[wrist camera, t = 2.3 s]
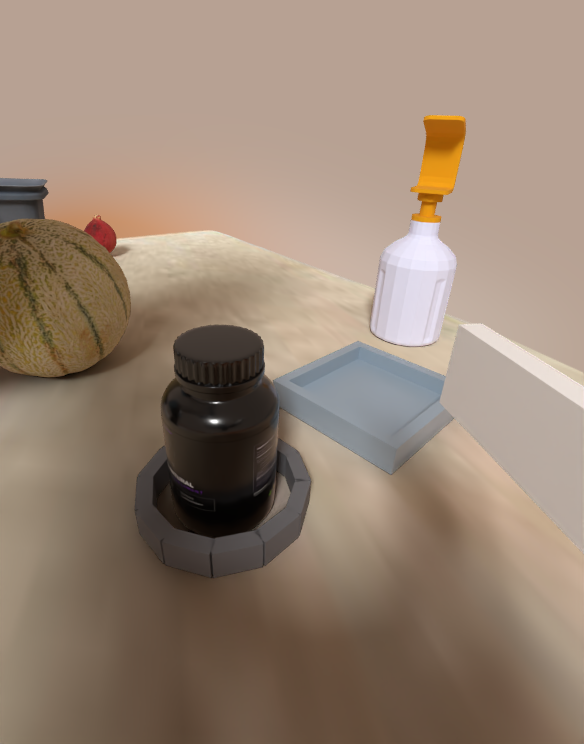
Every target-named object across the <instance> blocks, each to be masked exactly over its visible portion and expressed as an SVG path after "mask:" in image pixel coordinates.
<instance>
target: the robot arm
mask: <svg viewBox="0 0 584 744" xmlns="http://www.w3.org/2000/svg"><path fill="white" fill-rule="evenodd" d="M439 403H440V404H441V405H442V406H443V407H444V408H445V409H446V410H447V411H448V412H449V413H450V414H451V415H452V416H453V417H454V418H455V419H456V420H457V421H458V422H459V424H460V425H461V426H462V427H463V428H464V429H465V430H466V431H467V432H468V433H469V434H470V435H471V436H472V437H473V438H474V439H475V440H476V441H477V442H478V443H479V445H480V446H481V447H482V448H483V449H484V450H485V451H486V452H487V453H488V454H489V455H490V456H491V457H492V458H493V459H494V460H495V461H496V462H497V463H498V464H499V466H500V467H501V468H502V469H503V470H504V471H505V472H506V473H507V474H508V475H509V476H510V477H511V478H512V479H513V480H514V481H515V482H516V483H517V484H518V485H519V487H520V488H521V489H522V490H523V491H524V492H525V493H526V494H527V495H528V496H529V497H530V498H531V499H532V500H533V501H534V502H535V503H536V504H537V505H538V506H539V508H540V509H541V510H542V511H543V512H544V513H545V514H546V515H547V516H548V517H549V518H550V519H551V520H552V521H553V522H554V523H555V524H556V525H557V526H558V527H559V529H560V530H561V531H562V532H563V533H564V534H565V535H566V536H567V537H568V538H569V539H570V540H571V541H572V542H573V543H574V544H575V545H576V546H577V547H578V548H579V550H580V551H581V552H582V553H583V554H584V386H582V385H581V384H579V383H578V382H576V381H574V380H573V379H571V378H569V377H568V376H566V375H565V374H563V373H561V372H560V371H558V370H556V369H555V368H553V367H552V366H550V365H548V364H547V363H545V362H543V361H542V360H540V359H539V358H537V357H535V356H534V355H532V354H530V353H529V352H527V351H526V350H524V349H522V348H521V347H519V346H518V345H516V344H514V343H513V342H511V341H509V340H508V339H506V338H505V337H503V336H501V335H500V334H498V333H496V332H495V331H493V330H492V329H490V328H488V327H487V326H485V325H483V324H482V323H480V324H459V326H458V330H457V334H456V338H455V342H454V346H453V350H452V354H451V358H450V362H449V366H448V370H447V374H446V378H445V382H444V386H443V390H442V394H441V398H440V402H439Z"/></svg>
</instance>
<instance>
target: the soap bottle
mask: <svg viewBox="0 0 584 744" xmlns="http://www.w3.org/2000/svg"><path fill="white" fill-rule="evenodd" d="M423 122H424V125H425V129H426V135H427V136H426V144H425V150H424V155H423V161H422V167H421V172H420V177H419V182H418V185H417V186H415V187H412V188H411V192H418V193H419V194H418V200H419V201H422V204H421V209H420V214H412V219H411V223H410V228H409V233H408V234H407V235H406V236H405V237H403V238H401V239H399V240H396V241H395V242H393V243H392V244H391V245H389V246H388V247H387V248H385V249H384V251H383V253H382V254H381V256H380V262H379V268H378V275H377V281H376V288H375V295H374V301H373V308H372V314H371V321H370V328H371V332H372V333H373V334H374V335H375V336H377V337H379V338H381V339H383V340H384V341H387V342H390V343H393V344H396V345H403V346H424V345H430V344H432V343H434V342H436V341H437V340H438V338H439V336H440V332H441V328H442V324H443V320H444V316H445V311H446V307H447V303H448V299H449V295H450V291H451V287H452V283H453V279H454V275H455V271H456V267H457V263H456V256H455V255H454V254H453V252H452V251H451V250H450V248H449V247H447V246H446V245H445V244H444V243H443V242H441V240H440V239H439V238H438V231H439V226H440V221H441V216H437V215H434V213H435V209H436V205H437V202H442V200H443V195H448V194H450V193H452V191H453V189H454V185H455V181H456V176H457V172H458V167H459V163H460V158H461V154H462V149H463V145H464V140H465V134H466V123H465V118H464V117H462V116H437V115H432V116H431V115H429V116H426V117H424V121H423Z"/></svg>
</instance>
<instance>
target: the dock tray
mask: <svg viewBox="0 0 584 744" xmlns="http://www.w3.org/2000/svg"><path fill="white" fill-rule="evenodd" d="M445 378H446V376H444V375H441V374H439V373H436V372H434V371H431V370H429V369H426V368H424V367H421V366H419V365H416V364H414V363H411V362H409V361H406V360H404V359H401V358H399V357H396V356H394V355H391V354H389V353H386V352H384V351H381V350H379V349H376V348H374V347H371V346H369V345H366V344H364V343H361V342H359V341H357V342H355V343H353V344H350V345H348V346H346V347H344V348H342V349H340V350H337V351H335V352H333V353H331V354H329V355H327V356H324V357H322V358H320V359H318V360H316V361H314V362H311V363H309V364H307V365H305V366H303V367H301V368H298V369H296V370H294V371H292V372H290V373H288V374H285V375H283V376H281V377H279V378H277V379H275V380H273V384H274V386H275V388H276V390H277V392H278V395H279V407H280V408H282V409H284V410H285V411H287V412H289V413H290V414H292V415H293V416H295V417H297V418H298V419H300V420H302V421H303V422H305V423H307V424H308V425H310V426H312V427H313V428H315V429H317V430H318V431H320V432H321V433H323V434H325V435H326V436H328V437H330V438H331V439H333V440H335V441H336V442H338V443H340V444H341V445H343V446H344V447H346V448H348V449H349V450H351V451H353V452H354V453H356V454H358V455H359V456H361V457H363V458H364V459H366V460H368V461H369V462H371V463H372V464H374V465H376V466H377V467H379V468H381V469H382V470H384V471H386V472H387V473H389V474H391V475H392V474H393V473H394V472H395V471H396V470H397V469H398V468H399V467H401V466H402V465H403V464H404V463H405V462H406V461H407V460H408V459H409V458H411V457H412V456H413V455H414V454H415V453H416V452H417V451H418V450H419V449H421V448H422V447H423V446H424V445H425V444H426V443H427V442H428V441H429V440H431V439H432V438H433V437H434V436H435V435H436V434H437V433H438V432H439V431H441V430H442V429H443V428H444V427H445V426H446V425H447V424H448V423H449V422H451V421H452V420H453V419H454V417H453V416H452V415H451V414H450V413H449V412H448V411H447V410H446V409H445V408H444V407H443V406H442V405H441V404H440V403H439V402H440V398H441V394H442V390H443V386H444V382H445Z"/></svg>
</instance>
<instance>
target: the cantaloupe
mask: <svg viewBox="0 0 584 744" xmlns="http://www.w3.org/2000/svg"><path fill="white" fill-rule="evenodd" d="M130 304H131V302H130V292H129V288H128V284H127V280H126V277H125V276H124V273H123V271H122V269H121V268H120V266H119V265H118V263H117V262H116V261H115V259H114V258H113V257H112V255H111V254H110V253H109V252H108V250H107V249H106V248H105V247H104V246H102V245H101V244H99V243H98V242H97V241H96V240H95V239H94V238H93V237H92V236H91V235H89V234H88V233H86V232H84V231H82V230H80V229H78V228H76V227H74V226H71V225H69V224H67V223H63V222H59V221H55V220H48V219H18V220H13V221H9V222H5V223H1V224H0V366H1V367H3V368H4V369H6V370H8V371H10V372H13V373H18V374H25V375H35V376H40V377H58V376H64V375H66V374H69V373H74V372H79V371H83V370H85V369H87V368H90V367H91V366H93V365H95V364H96V363H97V362H98V361H99V360H101V359H103V358H105V357H106V356H107V355H108V354H109V353H110V352H112V351H113V349H114V347H115V346H116V345H117V344H118V343H119V341H120V339H121V337H122V335H123V334H124V332H125V329H126V327H127V325H128V320H129V317H130V312H131V305H130Z"/></svg>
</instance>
